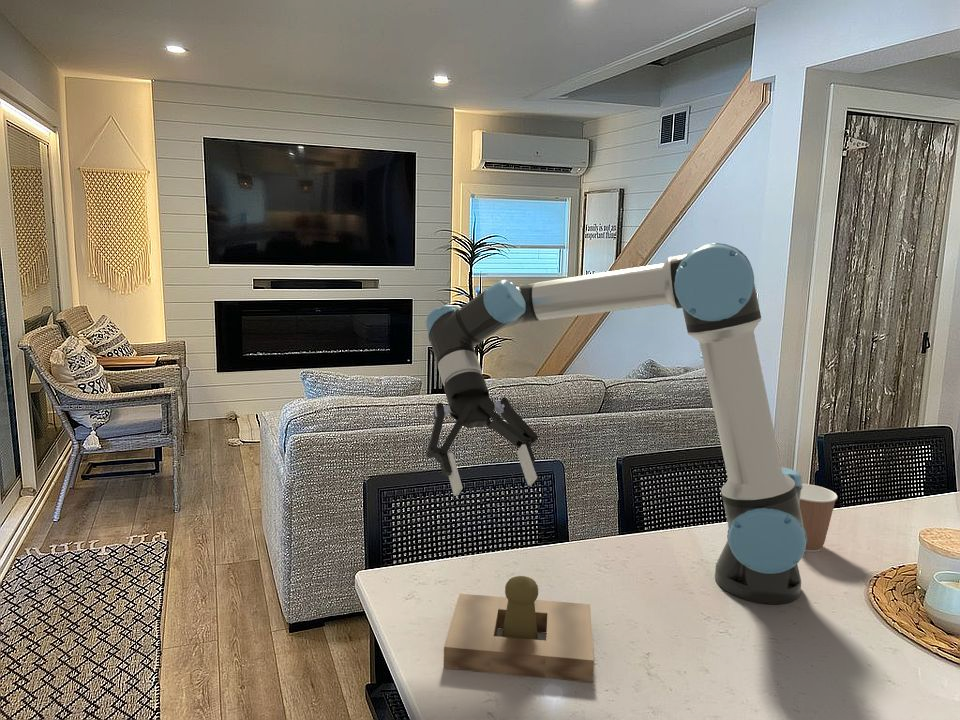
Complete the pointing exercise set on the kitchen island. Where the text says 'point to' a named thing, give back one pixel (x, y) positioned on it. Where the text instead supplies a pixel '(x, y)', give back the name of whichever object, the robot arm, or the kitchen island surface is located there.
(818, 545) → the coffee cup
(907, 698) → the kitchen island surface
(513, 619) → the cork
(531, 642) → the wooden block with hole
